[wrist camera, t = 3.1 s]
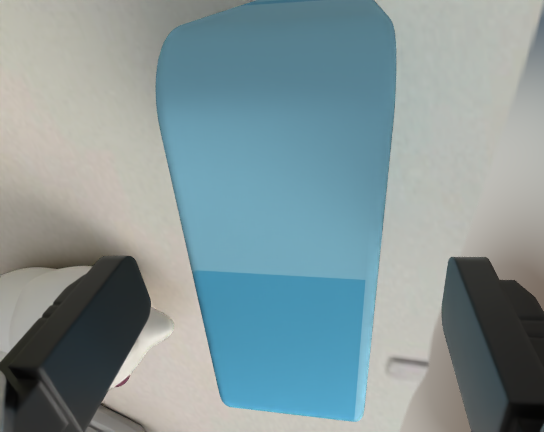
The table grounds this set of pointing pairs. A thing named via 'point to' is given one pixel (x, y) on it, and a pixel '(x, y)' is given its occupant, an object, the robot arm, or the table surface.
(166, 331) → the cat figurine
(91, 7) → the table surface
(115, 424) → the laptop
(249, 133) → the blue rounded block
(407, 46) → the table surface
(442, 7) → the table surface
